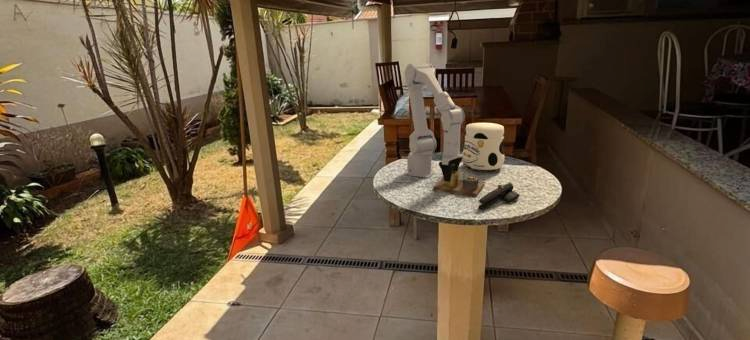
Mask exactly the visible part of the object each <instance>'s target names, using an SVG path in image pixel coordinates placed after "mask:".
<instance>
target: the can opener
mask: <svg viewBox="0 0 750 340" xmlns="http://www.w3.org/2000/svg"><path fill="white" fill-rule="evenodd" d="M519 198H520V194H519V192H516V191H515V190H514V185H513V183H510V182H509V183H506V184H497V188H495V189H493V190H492V191H490V192H488V193H487V194H484V195H483V196H482V197H481V198H479V200H478V202H479V203H480V204H479V205H478V209H479V210H480V211H481V210H483V211H484V210H486V209H488V208H490V207H492V206H493V205H495V204H496V203H498V202H499V201H501V200H502V202H504V203H508V204H511V203H512V204H513V203H514V202H516V201H517V200H518V199H519Z"/></svg>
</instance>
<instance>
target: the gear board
mask: <svg viewBox="0 0 750 340" xmlns="http://www.w3.org/2000/svg"><path fill="white" fill-rule="evenodd" d="M484 188H485V183H484V182H479V178H477V177H475V176H465V177H464V178H463V179H459V185H457V186H456V187H447V186H446V185H444V178H443V177H442V178H441V179H440V180H439V181H437V183H435V185H434V186H433V187H432V190H433V191H438V192H445V193H451V194H456V195H463V196H469V197H478V196H479V194H480V193H481V192H482V190H483V189H484Z"/></svg>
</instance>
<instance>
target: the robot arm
mask: <svg viewBox="0 0 750 340" xmlns="http://www.w3.org/2000/svg"><path fill="white" fill-rule="evenodd" d="M404 77H405V83H406V84H405V85H406V88H407V89H408V95H409V101H410V108H411V109H410V110H411V116H412V123H413V128H414V131H412V133H410V135H409V137H408V138H409V145H408V147H409V151H410V152H409V153H408V154H407V163H406V165H407V167H406V168H407V169H406V170H407V171H406V172H407V173H406V176H412V177H419V178H426V179H429V178H430V177H432V176H433V174H435V173H436V172H435V170H432V165H433V164H432V160H433V158H432V157H433V154H434V152H435V150H436V149H437V140H436V138H435V134H434V132H433V130H430V129H429V128H428V122H427V114H426V109H425V101H424V96H423V88H424V87H425V86H426V87H427V89H428V91H430V93H431V94H432V96H433V103H434V105H435V106H436V108H437V110H438V111H439V113H440V115H441V116H440V121H441V123H442V130H443V150H442V151H443V152H442V159H441V161H439V162H438V166H439V168H440V170H441V173H442V178H444V181H447V182H450V180H451V176H452V171H453V170H454V171H457V172H458V171H459V168H460V165H461V162H462V158H463V155H462V153H461V148H460V147H461V131H462V130H461V126H462V124H463V123H464V122H465V119H466V117H465V112H464V109H463V108H462V107H459V106H458V105H456V104H455V103H454V101H453V100H452V98H451V96H450V95H449V93H448V92H447V91H443V89H442V87H441V86H440V83H439V82H438V79H437V78H436V69H435V68H434V66H433V64H432V63H431V62H425V63H409V64H407V66H406V68H405V70H404ZM460 153H461V154H460ZM458 173H459V172H458Z"/></svg>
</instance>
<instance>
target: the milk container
mask: <svg viewBox="0 0 750 340" xmlns="http://www.w3.org/2000/svg"><path fill="white" fill-rule="evenodd" d="M464 133H465V134H464V146H463V151H462V153H461V154H462V155H463V158H462V160H461V162H462V165H463V166H464V167H465V168H467V169H469V170H472V171H477V172H492V171H493V172H495V171H497V170H500V169H501V168H502V167H503V166H504V163H505V151H504V141H505V140H504V139H505V127H504V125H501V124H499V123H493V122H472V123H468V124H466V126H465V131H464Z"/></svg>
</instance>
